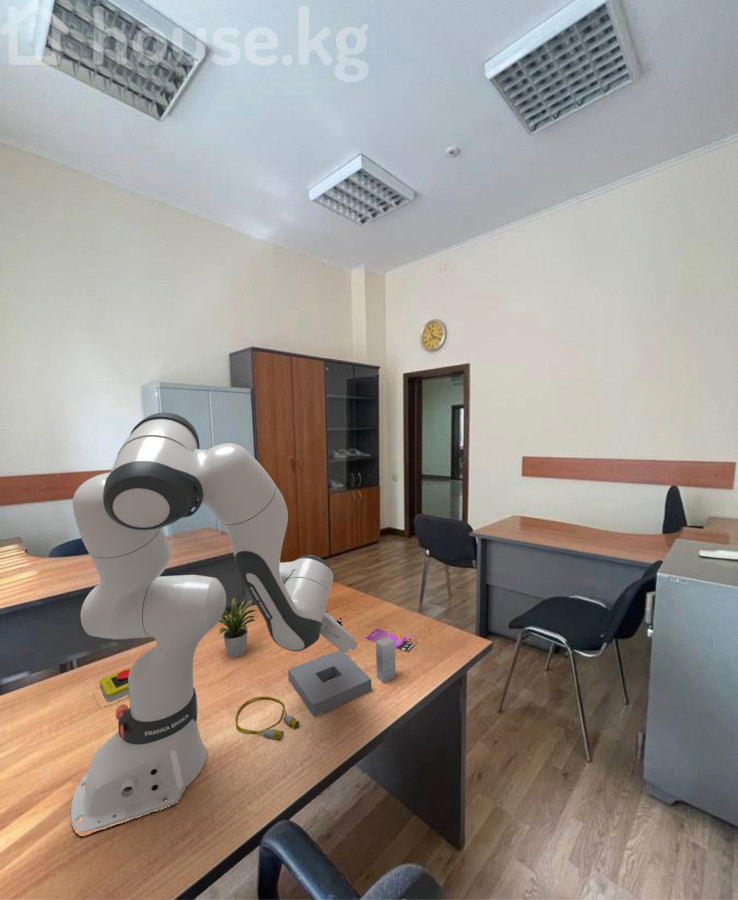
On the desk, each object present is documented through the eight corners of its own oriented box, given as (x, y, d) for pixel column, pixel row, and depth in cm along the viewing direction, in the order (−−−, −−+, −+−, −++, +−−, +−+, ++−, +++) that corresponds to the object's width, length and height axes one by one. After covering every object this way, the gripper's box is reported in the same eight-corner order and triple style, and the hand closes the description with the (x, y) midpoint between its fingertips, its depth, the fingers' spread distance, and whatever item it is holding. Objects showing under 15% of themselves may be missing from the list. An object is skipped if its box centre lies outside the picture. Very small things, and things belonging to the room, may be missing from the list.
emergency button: (91, 677, 101) (154, 652, 112) (92, 693, 102) (155, 667, 112) (99, 694, 95) (165, 665, 106) (100, 711, 95) (166, 681, 106)
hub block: (313, 717, 91) (313, 704, 90) (288, 680, 104) (288, 669, 104) (371, 690, 99) (371, 679, 99) (341, 659, 113) (341, 649, 112)
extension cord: (246, 758, 81) (246, 749, 80) (229, 711, 94) (229, 703, 94) (302, 732, 87) (301, 723, 87) (278, 692, 100) (278, 684, 100)
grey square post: (383, 683, 102) (382, 646, 101) (376, 677, 104) (375, 641, 104) (396, 677, 104) (395, 641, 103) (389, 671, 107) (388, 636, 106)
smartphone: (408, 655, 115) (408, 652, 115) (365, 640, 123) (365, 637, 123) (418, 643, 121) (418, 640, 121) (376, 629, 129) (376, 627, 129)
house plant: (239, 674, 107) (236, 616, 106) (199, 665, 112) (195, 610, 111) (269, 645, 121) (266, 594, 120) (231, 638, 125) (229, 589, 124)
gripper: (335, 615, 83) (375, 645, 89) (298, 583, 100) (334, 610, 106) (316, 642, 81) (358, 671, 87) (282, 605, 98) (319, 630, 104)
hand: (344, 637), depth 96 cm, fingers open, 8 cm apart
